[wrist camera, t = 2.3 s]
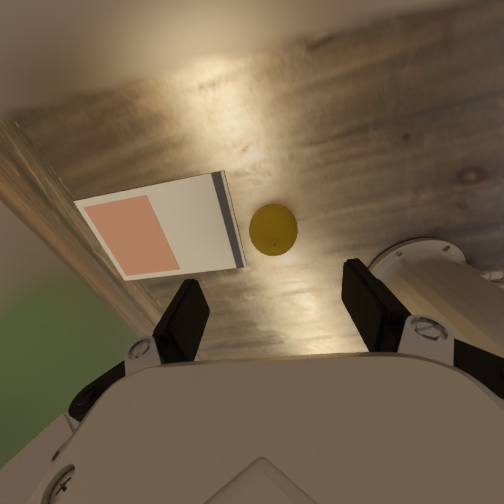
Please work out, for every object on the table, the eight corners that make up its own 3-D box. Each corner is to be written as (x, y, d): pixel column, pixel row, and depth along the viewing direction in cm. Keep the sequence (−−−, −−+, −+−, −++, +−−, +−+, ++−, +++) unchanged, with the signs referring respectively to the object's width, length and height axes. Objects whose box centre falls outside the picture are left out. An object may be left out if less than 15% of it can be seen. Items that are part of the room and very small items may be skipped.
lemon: (253, 237, 26) (248, 268, 19) (250, 198, 23) (243, 218, 16) (291, 236, 25) (301, 268, 18) (293, 196, 23) (305, 216, 16)
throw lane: (224, 170, 22) (223, 170, 22) (246, 265, 28) (246, 266, 28) (75, 200, 25) (72, 201, 25) (125, 279, 32) (124, 281, 31)
